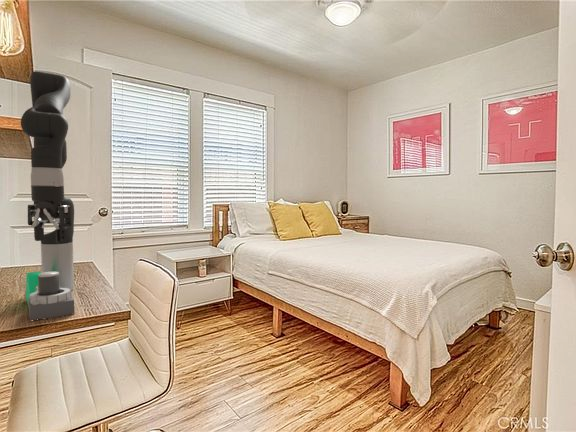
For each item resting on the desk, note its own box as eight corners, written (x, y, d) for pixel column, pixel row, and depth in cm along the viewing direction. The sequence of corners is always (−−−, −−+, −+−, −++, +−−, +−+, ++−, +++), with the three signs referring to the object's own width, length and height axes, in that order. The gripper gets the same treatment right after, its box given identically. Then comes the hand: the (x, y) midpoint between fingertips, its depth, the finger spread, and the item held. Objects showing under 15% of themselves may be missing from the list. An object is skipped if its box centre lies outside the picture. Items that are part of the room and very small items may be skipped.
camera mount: (61, 305, 103) (61, 272, 103) (31, 311, 98) (29, 276, 97) (54, 297, 112) (53, 266, 111) (25, 301, 106) (24, 269, 106)
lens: (34, 300, 94) (33, 274, 94) (52, 296, 99) (52, 270, 98) (46, 303, 92) (45, 276, 92) (64, 298, 97) (63, 272, 96)
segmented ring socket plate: (28, 311, 97) (27, 291, 96) (69, 305, 103) (68, 285, 103) (30, 321, 89) (29, 299, 89) (74, 313, 95) (73, 293, 95)
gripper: (16, 184, 93) (18, 241, 94) (52, 184, 88) (54, 245, 89) (43, 184, 100) (45, 238, 101) (78, 185, 95) (80, 241, 96)
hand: (49, 241), depth 95 cm, fingers open, 8 cm apart
